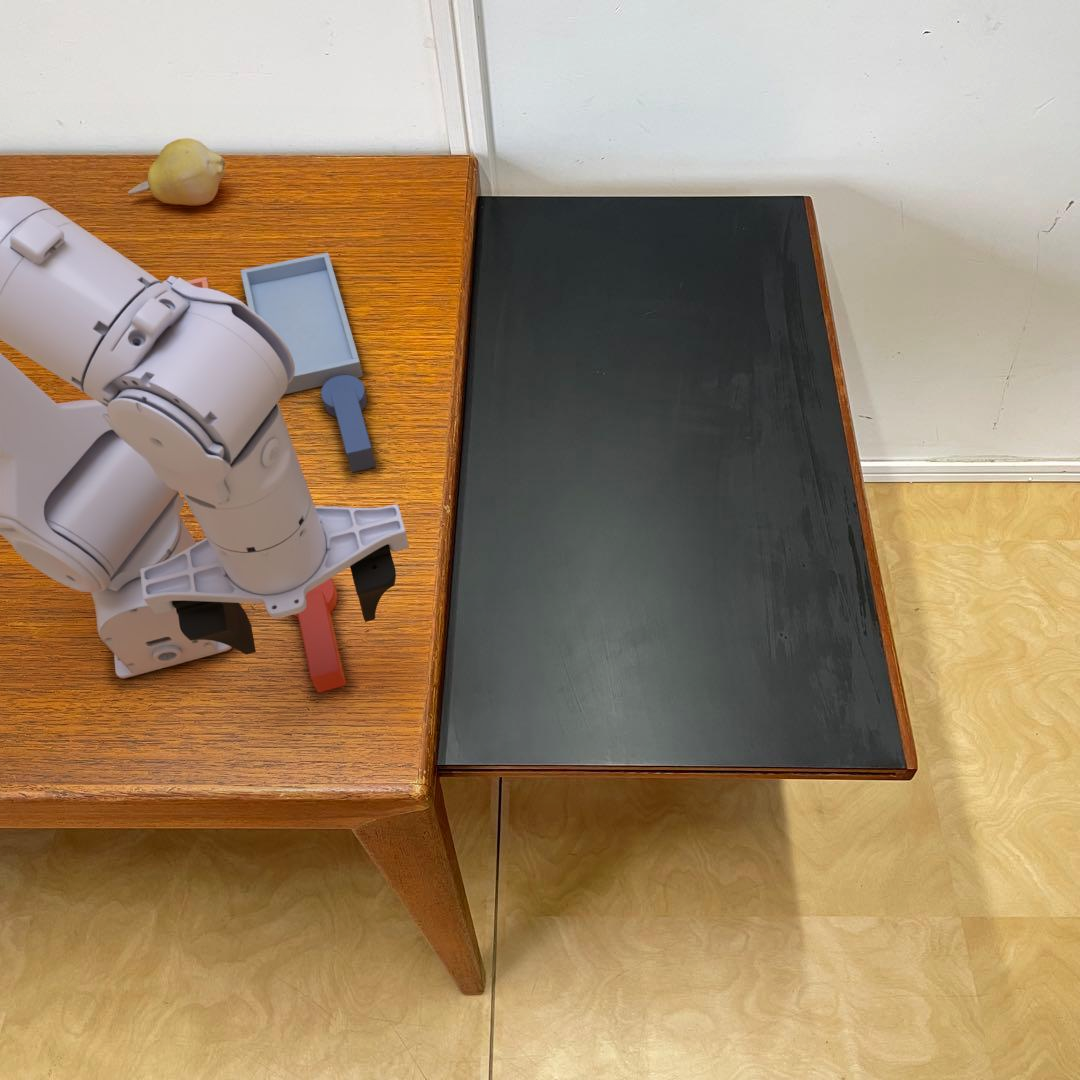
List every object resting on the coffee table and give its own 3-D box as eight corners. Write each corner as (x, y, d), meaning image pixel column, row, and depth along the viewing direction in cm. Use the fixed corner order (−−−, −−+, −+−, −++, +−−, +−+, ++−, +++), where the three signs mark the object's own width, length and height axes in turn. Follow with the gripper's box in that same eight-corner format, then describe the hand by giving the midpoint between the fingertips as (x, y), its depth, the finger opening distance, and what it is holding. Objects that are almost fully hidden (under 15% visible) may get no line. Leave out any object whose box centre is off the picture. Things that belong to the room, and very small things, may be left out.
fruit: (133, 183, 92) (229, 154, 92) (145, 234, 90) (243, 205, 91) (103, 146, 86) (206, 115, 86) (116, 200, 85) (221, 168, 85)
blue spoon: (385, 464, 74) (381, 445, 72) (341, 475, 73) (336, 456, 71) (362, 381, 78) (357, 360, 76) (320, 391, 78) (314, 370, 76)
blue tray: (363, 377, 79) (359, 361, 77) (269, 398, 77) (264, 382, 76) (331, 268, 86) (328, 252, 84) (245, 285, 84) (240, 269, 83)
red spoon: (357, 682, 64) (352, 667, 62) (306, 696, 63) (298, 682, 61) (332, 572, 69) (326, 555, 66) (284, 585, 68) (276, 567, 66)
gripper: (115, 608, 44) (201, 712, 56) (409, 532, 47) (433, 646, 58) (105, 493, 48) (188, 613, 59) (379, 428, 50) (407, 555, 62)
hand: (308, 623), depth 59 cm, fingers open, 7 cm apart
